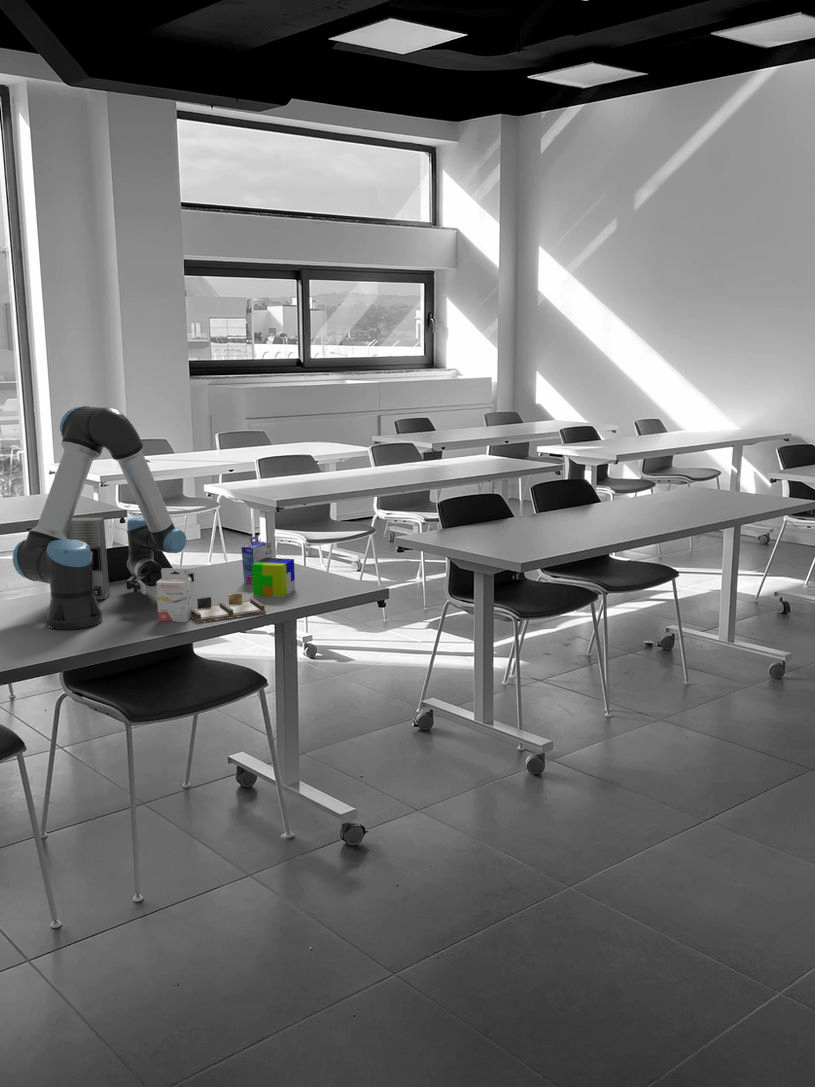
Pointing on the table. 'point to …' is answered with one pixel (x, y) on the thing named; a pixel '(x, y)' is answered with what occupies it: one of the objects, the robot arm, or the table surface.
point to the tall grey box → (93, 550)
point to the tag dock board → (226, 608)
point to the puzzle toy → (273, 577)
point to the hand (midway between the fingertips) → (167, 586)
